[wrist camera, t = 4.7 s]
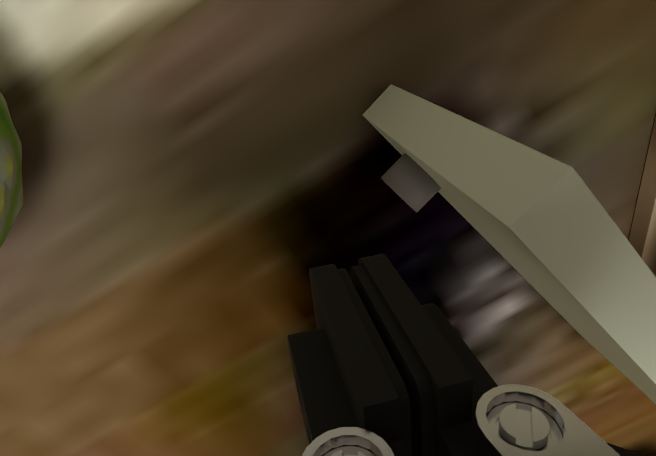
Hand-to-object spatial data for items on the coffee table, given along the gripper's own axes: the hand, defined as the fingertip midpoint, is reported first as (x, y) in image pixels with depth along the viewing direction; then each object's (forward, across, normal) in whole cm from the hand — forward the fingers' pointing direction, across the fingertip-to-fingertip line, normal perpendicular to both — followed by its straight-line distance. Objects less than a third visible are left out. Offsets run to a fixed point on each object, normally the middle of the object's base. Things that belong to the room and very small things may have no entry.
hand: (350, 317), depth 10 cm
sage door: (+10, -10, +5) cm, 15 cm away
